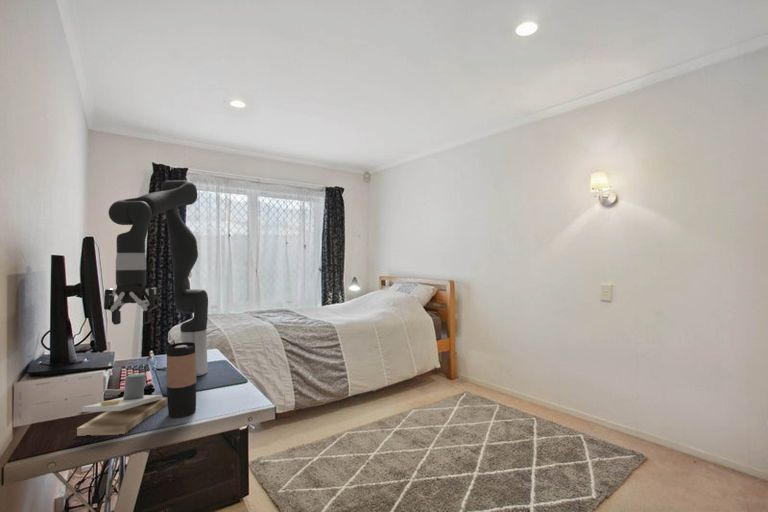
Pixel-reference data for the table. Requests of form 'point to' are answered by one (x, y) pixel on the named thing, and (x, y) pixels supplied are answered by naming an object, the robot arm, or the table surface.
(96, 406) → the plate
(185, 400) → the travel mug
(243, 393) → the table surface
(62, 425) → the table surface
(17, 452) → the table surface
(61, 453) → the table surface
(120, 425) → the oak base
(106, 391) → the caliper
